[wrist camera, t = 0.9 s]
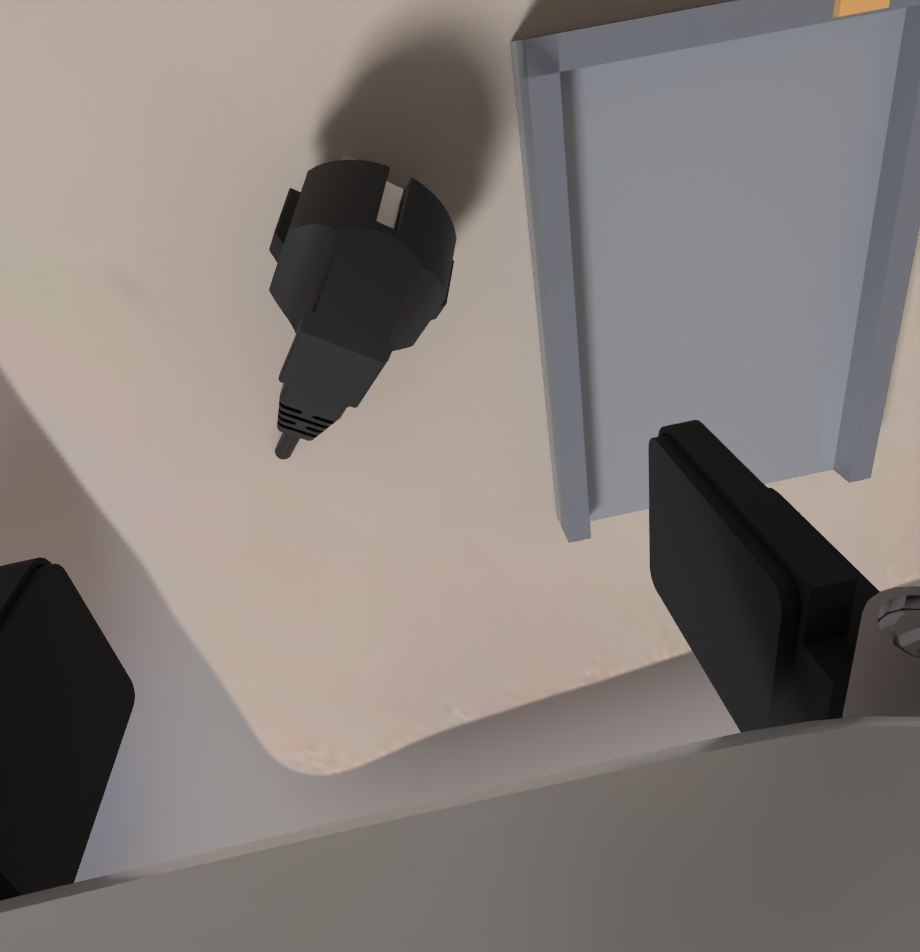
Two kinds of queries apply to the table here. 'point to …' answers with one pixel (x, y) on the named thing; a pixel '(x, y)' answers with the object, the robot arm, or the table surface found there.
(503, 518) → the table surface
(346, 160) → the power plug
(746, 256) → the dock
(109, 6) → the table surface
